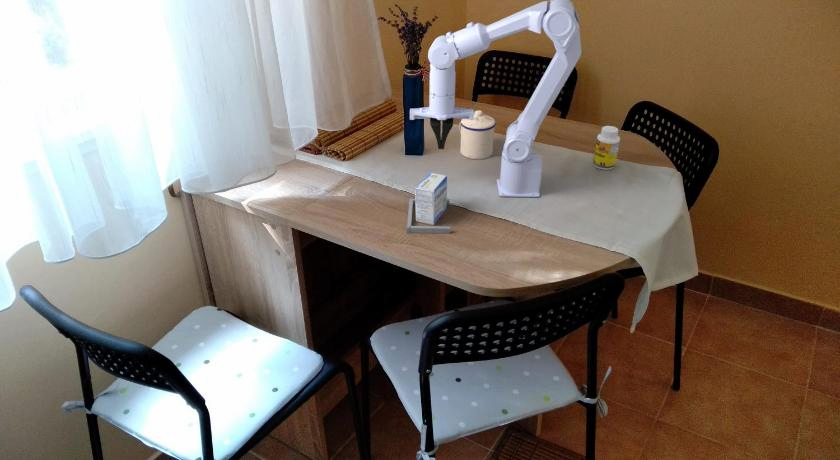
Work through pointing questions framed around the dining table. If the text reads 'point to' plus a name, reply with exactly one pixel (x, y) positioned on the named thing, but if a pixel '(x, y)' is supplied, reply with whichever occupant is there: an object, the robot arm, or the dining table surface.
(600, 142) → the supplement bottle
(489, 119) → the teacup with lid
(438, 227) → the grey bay
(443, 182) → the medicine box
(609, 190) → the dining table surface
